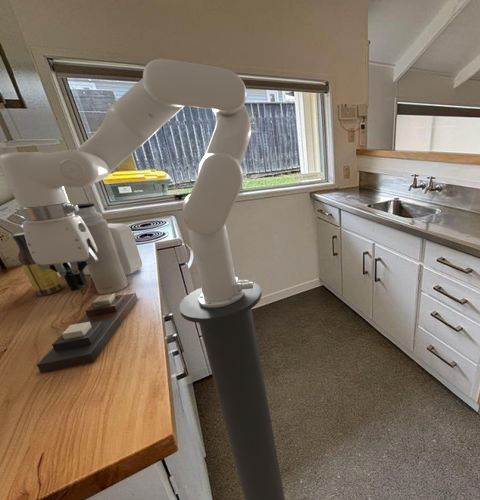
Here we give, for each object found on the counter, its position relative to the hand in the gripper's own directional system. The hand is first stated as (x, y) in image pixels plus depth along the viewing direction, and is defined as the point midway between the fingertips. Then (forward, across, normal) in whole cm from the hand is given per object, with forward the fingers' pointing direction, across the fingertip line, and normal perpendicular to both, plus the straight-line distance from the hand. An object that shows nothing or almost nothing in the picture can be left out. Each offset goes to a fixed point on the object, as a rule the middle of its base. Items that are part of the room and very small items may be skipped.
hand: (79, 287), depth 67 cm
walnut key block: (+12, 0, -7) cm, 14 cm away
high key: (+9, 0, +7) cm, 11 cm away
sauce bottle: (+12, +26, -31) cm, 42 cm away
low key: (+9, 0, -7) cm, 11 cm away
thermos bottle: (+12, +7, -26) cm, 30 cm away
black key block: (+12, 0, +7) cm, 14 cm away
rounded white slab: (+12, +16, -43) cm, 47 cm away
